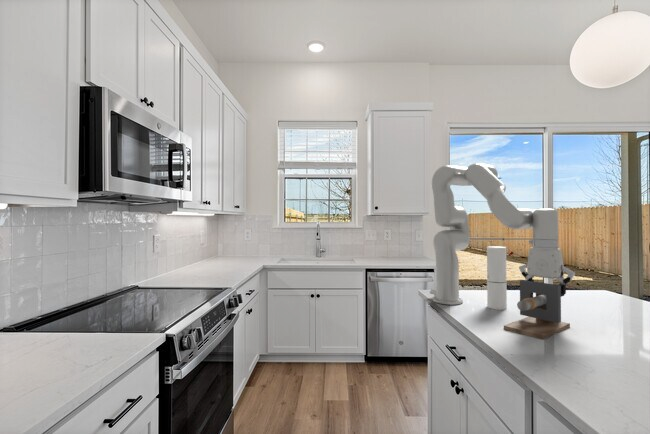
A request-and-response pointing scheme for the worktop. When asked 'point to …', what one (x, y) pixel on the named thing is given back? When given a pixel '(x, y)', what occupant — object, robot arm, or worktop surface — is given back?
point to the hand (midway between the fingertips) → (545, 293)
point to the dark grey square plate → (552, 300)
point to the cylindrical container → (496, 278)
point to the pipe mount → (535, 320)
